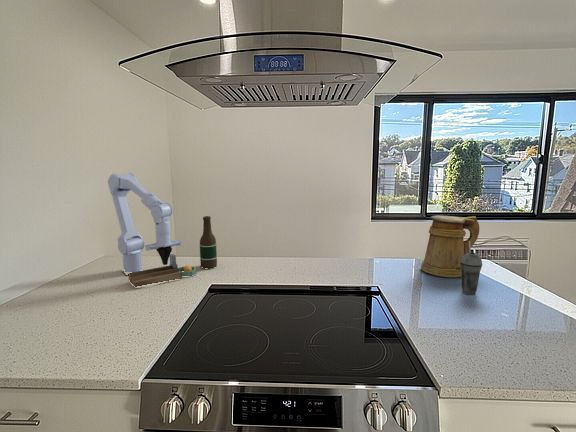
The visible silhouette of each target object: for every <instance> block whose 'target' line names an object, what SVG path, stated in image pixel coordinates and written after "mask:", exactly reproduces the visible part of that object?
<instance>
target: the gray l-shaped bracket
mask: <svg viewBox="0 0 576 432" xmlns="http://www.w3.org/2000/svg"><path fill="white" fill-rule="evenodd" d="M169 265H170V269H176V268H179V267H178V266H179V265H178V263H177V255H175V254H174V253H170V255H169Z"/></svg>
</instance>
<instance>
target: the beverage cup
mask: <svg viewBox="0 0 576 432" xmlns="http://www.w3.org/2000/svg"><path fill="white" fill-rule="evenodd" d="M471 250H472V247H471V246H470V241H469V251H468V253H466V254H465V255H464V256H463V257H462V259H461V262H460V263H461V273H462V277H461V292H462V293H461V294H463V295H465V296H476V294H477V290H478V284H479V279H480V275H481V274H480V273H481V270H482V267H483V262H482V261H483V260H482V258H481V257H480V256H479V255H478V253H476V252H472V251H471Z"/></svg>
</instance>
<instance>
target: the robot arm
mask: <svg viewBox="0 0 576 432" xmlns="http://www.w3.org/2000/svg"><path fill="white" fill-rule="evenodd" d="M107 184H108V189H109V192H110V194H111V198H112V201H113V205H114V209H115V213H116V216H117V219H118V220H117V221H118V224H119V227H120V231H121V233H120V235H119V236H118V238H117V248H118V249H117V250H118V251H119V253H120V254H121V255H122V267H123V269H125V272H137V271H140V270H142V269H143V263H142V252H143V249H144V248H145V251H147V252H148V251H152V250H156V252H157V253H158V255H159V257H160V259H161V263H162V265H163V266H168V265H169V264H168V262H169V260H170V256H169V255H170V254H172V250H173V247H177V246H179V247H181V246H182V240H180V239H178V240H171V238H172V237H171V222H170V217H171V216H172V214H173V209H172V206H171V204H169V203H168V202H163V201H162V200H161V199H159V198H158V197H157V195H156V194H155V193H154V192H148V191H147V190H146V189H145V188H144V187H143V185H141V184H140V182H139V181H138V177H137V176H135V175H134V174H133V173H131V172H130V173H129V172H128V173H118V174H117V173H116V174H115V173H112V174H110V175H109V177H108V179H107ZM130 192H133V193H134V194H135V195H136V196H138V197H139V198H140V199H141V200H140V201H141V203H142V204H143V205H144V206H145V207H146V209H148V210H149V211H150V214H151V217H152V218H153V223H154V227H155V229H154V230H155V243H150V244H146V245H145V241H144V239H143V237H142V234H141V233H140V232H139V231H137V230H136V229H135V226H134V222H133V218H132V214H131V211H130V207H129V204H128V200H127V195H128V193H130Z"/></svg>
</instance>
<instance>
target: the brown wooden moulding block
mask: <svg viewBox="0 0 576 432" xmlns="http://www.w3.org/2000/svg"><path fill="white" fill-rule="evenodd" d="M179 268H180V267H178V268H176V269H170V264H168V265H163V266H159V267H154V268H153V267H152V268H148V269H143V271H137V272H132V273H129V276H128V281H129V280H130V282H131V283H132V284H133V285H134V286H135V287H137V286H142V285H147V284H152V283H158V282H163V281H169V280H175V279H180V278H181V274H180V272H179ZM181 279H182V278H181Z"/></svg>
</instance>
